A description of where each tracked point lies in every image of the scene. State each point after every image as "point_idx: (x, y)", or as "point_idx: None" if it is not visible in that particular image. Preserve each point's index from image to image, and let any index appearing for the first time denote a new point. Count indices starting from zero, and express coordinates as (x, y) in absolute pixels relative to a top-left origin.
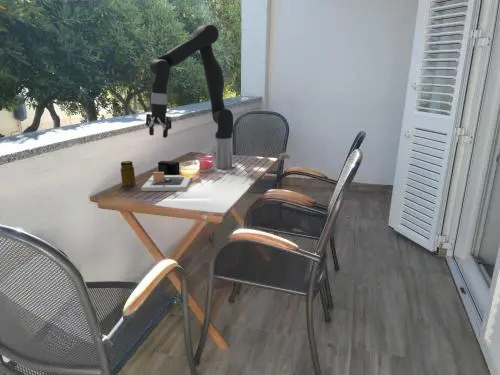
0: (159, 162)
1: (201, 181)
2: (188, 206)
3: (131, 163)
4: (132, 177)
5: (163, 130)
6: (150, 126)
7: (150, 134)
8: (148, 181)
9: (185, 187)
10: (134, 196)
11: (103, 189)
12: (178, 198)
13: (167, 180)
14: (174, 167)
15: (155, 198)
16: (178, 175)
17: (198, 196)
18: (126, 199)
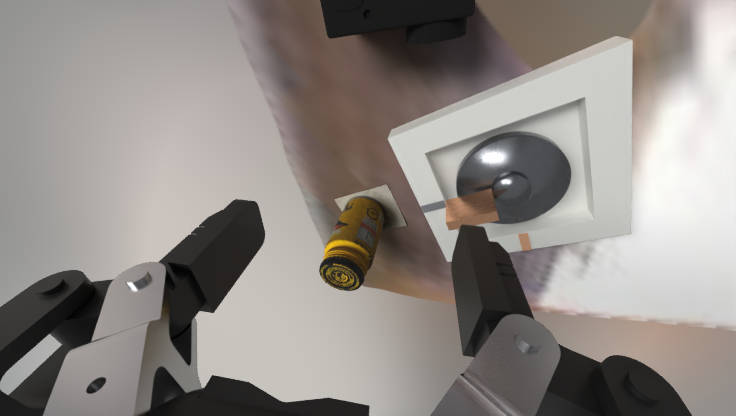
0: (339, 35)
1: (698, 42)
2: (655, 308)
3: (363, 275)
4: (378, 239)
5: (467, 348)
6: (193, 335)
7: (258, 245)
8: (430, 212)
9: (627, 232)
10: (446, 272)
11: (325, 246)
12: (600, 268)
13: (515, 203)
14: (466, 17)
15: (517, 276)
16: (528, 88)
17: (690, 245)
18: (440, 288)
